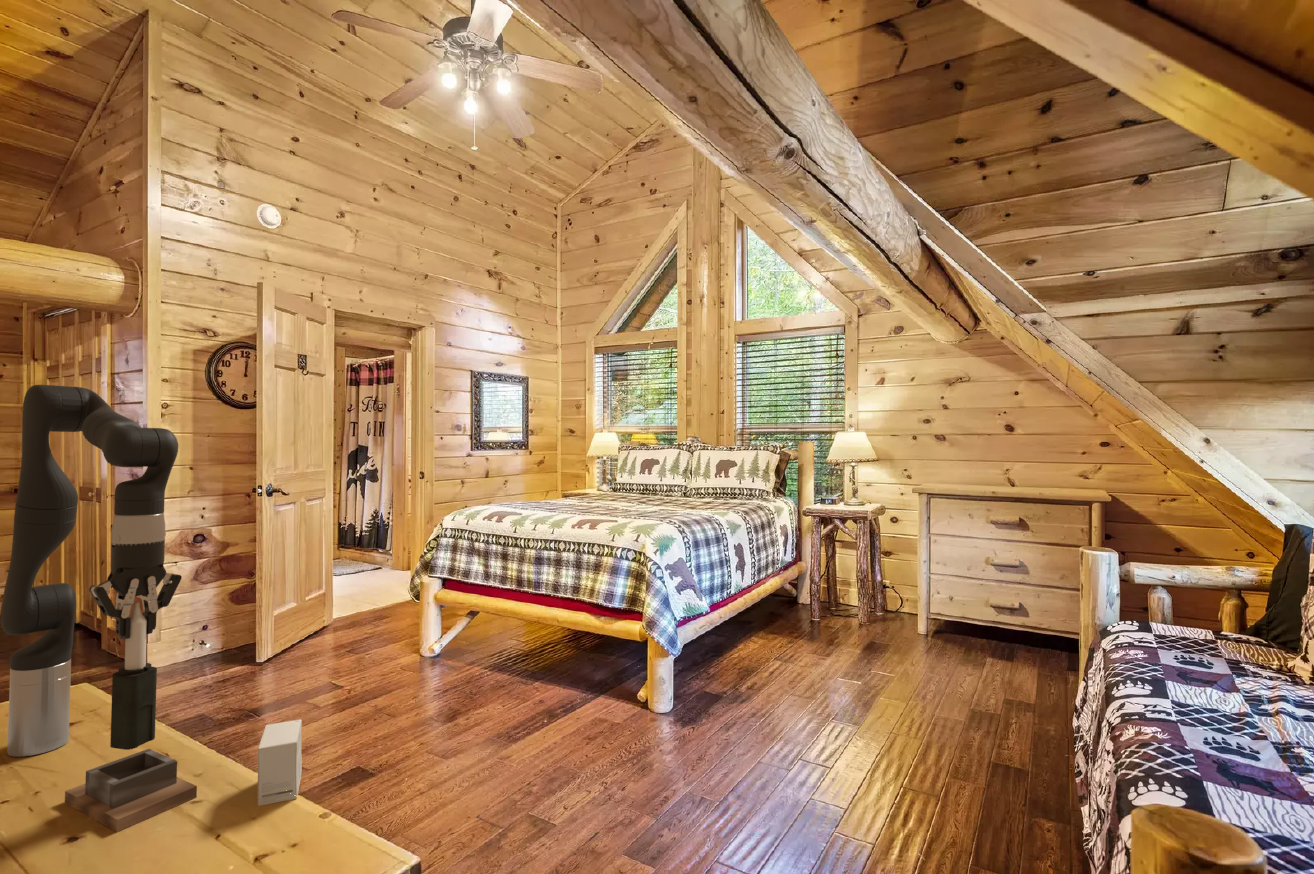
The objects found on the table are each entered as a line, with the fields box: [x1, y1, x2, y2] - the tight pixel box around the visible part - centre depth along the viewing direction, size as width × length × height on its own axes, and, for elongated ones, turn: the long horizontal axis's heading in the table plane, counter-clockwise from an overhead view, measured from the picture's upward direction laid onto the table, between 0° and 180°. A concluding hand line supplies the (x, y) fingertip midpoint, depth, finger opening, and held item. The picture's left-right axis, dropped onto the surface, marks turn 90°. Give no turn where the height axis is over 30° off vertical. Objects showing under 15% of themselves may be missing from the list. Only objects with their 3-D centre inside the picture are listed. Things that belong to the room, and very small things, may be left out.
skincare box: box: [257, 718, 303, 807], centre depth 121 cm, size 10×6×10 cm, turn 24°
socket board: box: [64, 748, 198, 833], centre depth 116 cm, size 18×12×6 cm, turn 63°
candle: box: [109, 601, 158, 751], centre depth 116 cm, size 5×5×25 cm
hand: (135, 635), depth 116 cm, fingers closed on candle, 3 cm apart
